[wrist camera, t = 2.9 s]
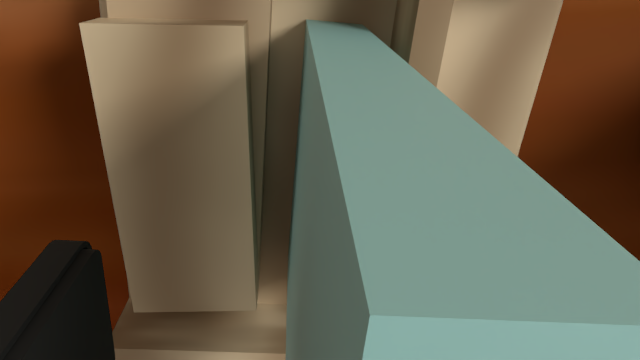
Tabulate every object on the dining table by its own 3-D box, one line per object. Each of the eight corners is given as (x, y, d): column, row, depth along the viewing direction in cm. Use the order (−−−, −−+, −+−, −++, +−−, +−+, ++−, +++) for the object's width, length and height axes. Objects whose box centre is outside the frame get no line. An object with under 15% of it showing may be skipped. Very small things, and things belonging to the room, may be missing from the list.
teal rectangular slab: (362, 24, 16) (719, 328, 3) (332, 259, 20) (410, 849, 7) (306, 19, 16) (369, 316, 2) (288, 257, 20) (274, 857, 7)
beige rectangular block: (274, -15, 15) (270, -12, 13) (261, 274, 20) (255, 322, 18) (112, -31, 15) (72, -31, 12) (138, 269, 20) (114, 316, 17)
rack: (568, -80, 16) (652, -94, 12) (457, 317, 24) (488, 384, 20) (99, -135, 15) (32, -170, 11) (139, 304, 22) (107, 374, 19)
